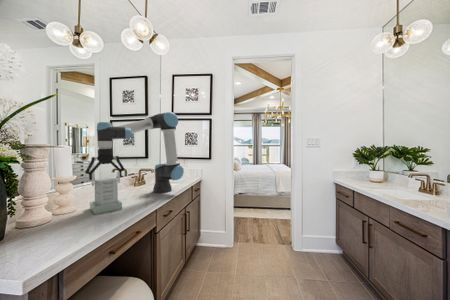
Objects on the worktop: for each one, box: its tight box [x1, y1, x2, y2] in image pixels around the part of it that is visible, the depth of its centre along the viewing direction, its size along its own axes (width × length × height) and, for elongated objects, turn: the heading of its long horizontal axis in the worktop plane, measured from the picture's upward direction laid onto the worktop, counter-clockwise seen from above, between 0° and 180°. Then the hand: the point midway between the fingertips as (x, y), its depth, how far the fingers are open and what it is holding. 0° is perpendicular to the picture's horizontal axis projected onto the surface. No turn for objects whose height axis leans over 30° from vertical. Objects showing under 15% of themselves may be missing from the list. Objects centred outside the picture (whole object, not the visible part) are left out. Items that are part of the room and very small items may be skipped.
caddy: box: [89, 199, 123, 215], centre depth 119 cm, size 14×15×4 cm
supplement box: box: [94, 177, 119, 206], centre depth 120 cm, size 10×9×17 cm
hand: (106, 183), depth 120 cm, fingers open, 13 cm apart
